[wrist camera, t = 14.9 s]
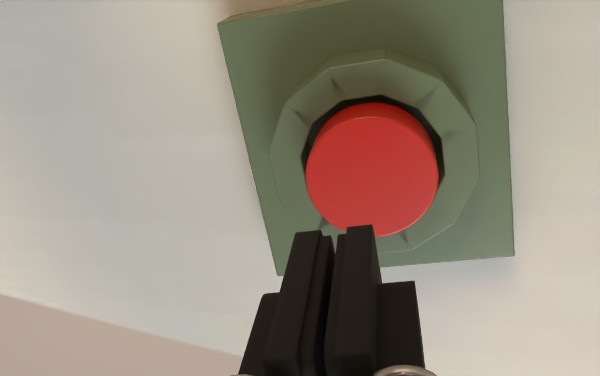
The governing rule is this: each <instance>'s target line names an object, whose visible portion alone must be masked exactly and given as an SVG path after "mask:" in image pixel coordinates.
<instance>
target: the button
mask: <svg viewBox="0 0 600 376" xmlns="http://www.w3.org/2000/svg"><path fill="white" fill-rule="evenodd" d="M438 180H439V176H438V166H437V161H436V156H435V152H434V147H433V144H432V141H431V138H430V136H429V134H428V132H427V131H426V129H425V128H424V126H423V125H422V124H421V123H420V122H419V121H418V120H417V119H416V118H415V117H414V116H413V115H411V114H410V113H408V112H407V111H405V110H403V109H401V108H399V107H397V106H393V105H390V104H386V103H380V102H367V103H360V104H355V105H352V106H349V107H347V108H345V109H343V110H341V111H339V112H338V113H336V114H335V115H333V116H332V117H331V118H330V119H329V120H328V121H327V122H326V123H325V124H324V125H323V126H322V128H321V129H320V131H319V132H318V134H317V136H316V138H315V141H314V143H313V146H312V149H311V152H310V155H309V158H308V161H307V166H306V186H307V190H308V194H309V196H310V199H311V201H312V203H313V204H314V206H315V208H316V209H317V210H318V212H319V213H320V214H321V215H322V216H323V217H324V218H325V219H326V220H327V221H328V222H329V223H331V224H332V225H333V226H335V227H337V228H339V229H340V230H343V231H345V232H346V230H347V227H351V226H360V225H369V224H372V225H373V229H374V234H375V237H382V236H388V235H391V234H395V233H398V232H400V231H403V230H405V229H406V228H408V227H410V226H411V225H413V224H414V223H415V222H417V221H418V220H419V219H420V218H421V217H422V216H423V215H424V214H425V213H426V211H427V210H428V209H429V207H430V205H431V204H432V202H433V200H434V197H435V195H436V191H437V188H438Z"/></svg>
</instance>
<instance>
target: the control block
mask: <svg viewBox="0 0 600 376" xmlns="http://www.w3.org/2000/svg"><path fill="white" fill-rule="evenodd" d="M217 27H218V31H219V35H220V39H221V43H222V47H223V52H224V56H225V60H226V64H227V68H228V72H229V77H230V81H231V85H232V89H233V93H234V97H235V101H236V106H237V110H238V114H239V118H240V122H241V126H242V131H243V135H244V139H245V143H246V147H247V151H248V156H249V160H250V164H251V168H252V172H253V176H254V181H255V185H256V189H257V193H258V197H259V201H260V206H261V210H262V214H263V218H264V222H265V226H266V231H267V235H268V239H269V243H270V247H271V251H272V255H273V260H274V264H275V268H276V272H277V275H278V276H284V274H285V270H286V266H287V262H288V258H289V255H290V251H291V247H292V243H293V239H294V236H295V233H296V232H304V231H313V230H321V231H322V234H323V236H328V235H331V236H332V240H333V244H334V250H335V253H336V245H337V237H338V234H346V232H345V231H343V230H340V229H339V228H337V227H335V226H333V225H332V224H331V223H329V222H328V221H327V220H326V219H325V218H324V217H323V216H322V215H321V214H320V213H319V212H318V210H317V209H316V208H315V206H314V204H313V203H312V201H311V199H310V196H309V194H308V190H307V186H306V166H307V161H308V158H309V155H310V152H311V149H312V146H313V143H314V141H315V138H316V136H317V134H318V132H319V131H320V129H321V128H322V126H323V125H324V124H325V123H326V122H327V121H328V120H329V119H330V118H331V117H332V116H333V115H335V114H336V113H338V112H339V111H341V110H343V109H345V108H347V107H349V106H352V105H355V104H360V103H367V102H380V103H386V104H390V105H393V106H397V107H399V108H401V109H403V110H405V111H407V112H408V113H410V114H411V115H413V116H414V117H415V118H416V119H417V120H418V121H419V122H420V123H421V124H422V125H423V126H424V128H425V129H426V131H427V132H428V134H429V136H430V138H431V141H432V144H433V147H434V152H435V156H436V161H437V166H438V176H439V180H438V188H437V191H436V195H435V197H434V200H433V202H432V204H431V205H430V207H429V209H428V210H427V211H426V213H425V214H424V215H423V216H422V217H421V218H420V219H419V220H418V221H417V222H415V223H414V224H413V225H411V226H410V227H408V228H406V229H405V230H403V231H400V232H398V233H395V234H391V235H388V236H382V237H375V241H376V247H377V253H378V260H379V266H380V267H391V266H402V265H414V264H426V263H438V262H449V261H461V260H473V259H484V258H496V257H508V256H514V254H515V252H514V230H513V209H512V187H511V166H510V144H509V122H508V101H507V79H506V58H505V36H504V15H503V0H315V1H309V2H304V3H299V4H293V5H288V6H283V7H277V8H272V9H267V10H261V11H256V12H251V13H245V14H240V15H235V16H231V17H229V18H227V19H225V20H223V21H221V22H219V23H218V24H217Z"/></svg>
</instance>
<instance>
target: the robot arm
mask: <svg viewBox="0 0 600 376" xmlns="http://www.w3.org/2000/svg"><path fill="white" fill-rule="evenodd" d="M232 376H437V375H435V374H434V373H433V372H431V371H429V370H426V369H425V363H424V353H423V344H422V336H421V327H420V319H419V311H418V303H417V296H416V288H415V281H406V282H394V283H383V284H382V279H381V273H380V266H379V260H378V253H377V247H376V241H375V234H374V229H373V225H372V224H369V225H360V226H351V227H347V230H346V234H338V237H337V245H336V253H335V250H334V244H333V240H332V236H331V235H328V236H323V234H322V231H321V230H313V231H304V232H296V233H295V236H294V239H293V243H292V247H291V251H290V255H289V258H288V262H287V266H286V270H285V274H284V278H283V281H282V285H281V289H280V292H278V293H267V294H264V295H263V296H262V298H261V301H260V304H259V308H258V311H257V314H256V317H255V321H254V324H253V327H252V331H251V334H250V337H249V340H248V344H247V347H246V350H245V353H244V357H243V360H242V363H241V367H240V370H239V373H238V375H232Z"/></svg>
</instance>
